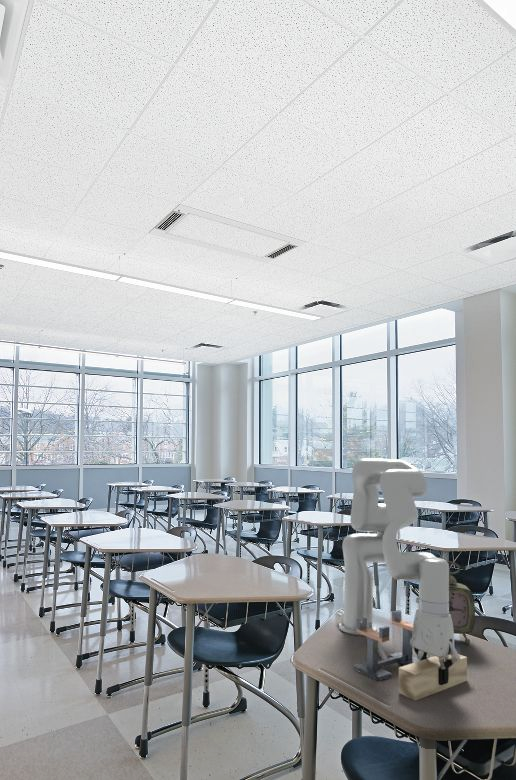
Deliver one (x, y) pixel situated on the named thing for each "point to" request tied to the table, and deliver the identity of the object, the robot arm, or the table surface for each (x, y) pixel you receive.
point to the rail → (429, 677)
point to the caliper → (378, 644)
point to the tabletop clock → (461, 606)
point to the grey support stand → (373, 637)
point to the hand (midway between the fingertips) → (433, 679)
